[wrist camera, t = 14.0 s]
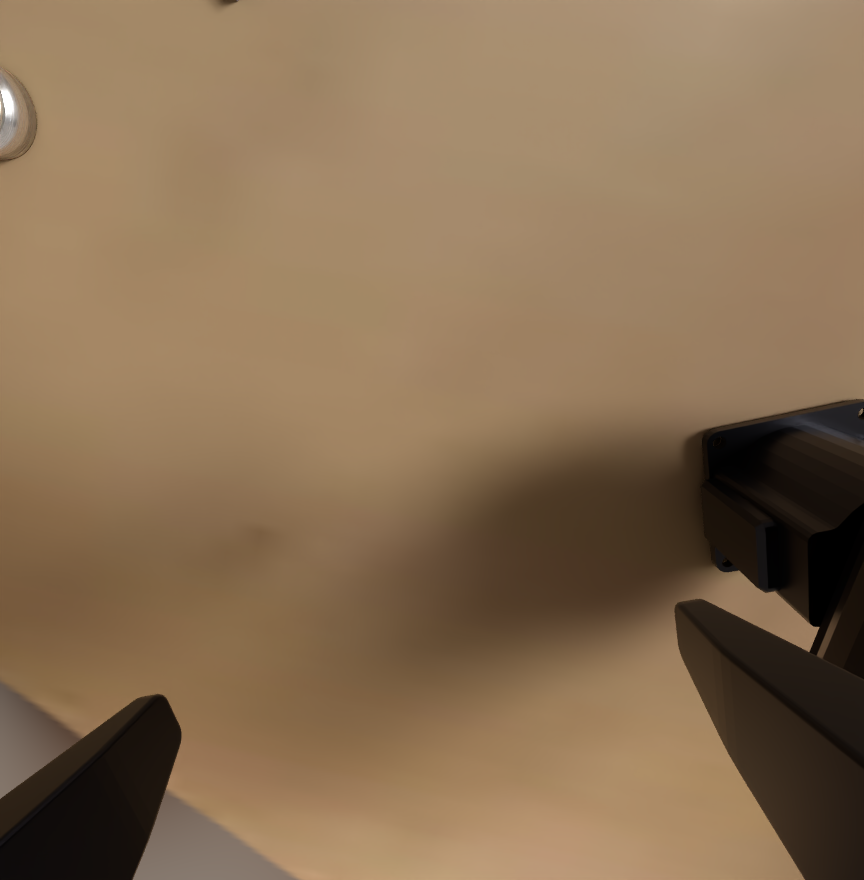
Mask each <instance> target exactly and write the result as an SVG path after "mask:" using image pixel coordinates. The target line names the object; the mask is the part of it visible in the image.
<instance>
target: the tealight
mask: <svg viewBox="0 0 864 880" xmlns="http://www.w3.org/2000/svg"><path fill="white" fill-rule="evenodd" d="M36 129H37V118H36V111H35V107H34V104H33V101H32V99H31V97H30V95H29V93H28V92H27V90H26V88H25V87H24V86H23V84H22V83H21V82H20V81H19V80H18V79H17V78H16V77H15V76H14V75H13V74H11V73H10V72H9V71H7V70H5V69H4V68H2V67H0V159H1V160H9V159H14V158H17V157H19V156H21V155H22V154H24V153H25V152H26V151H27V150H28V149H29V148H30V146H31V144H32V143H33V140H34V138H35V134H36Z"/></svg>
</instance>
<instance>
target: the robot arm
mask: <svg viewBox="0 0 864 880" xmlns="http://www.w3.org/2000/svg"><path fill="white" fill-rule="evenodd" d="M862 408H863V413H862V414H861V415H860V416H859V417H858V412H859V411H860V410H861V409H862ZM718 437H721V442H720V443H719V444H718V445H716V446H713V442H714V440H715V439H716V438H718ZM702 448H703V460H704V473H705V480H704V481H703V483H702V485H701V487H700V488H701V499H702V511H703V523H704V535H705V538H706V539H707V540H708V541H709V542H710V546H711V558H712V562H713V564H714V565H715V566H716V567H717V568H718V569H719V570H720V571H723V572H732V571H738V570H739V571H740V572H741V573H743V574H744V575H745V576H746V577H747V578H748V579H749V580H750V581H751V582H752V583H753V584H754V585H755V586H756V587H757V588H759V589H760V590H762V591H763V592H765V593H768V592H774V591H775V592H776V593H777V594H778V595H779V596H780V597H782V598H783V599H784V600H785V601H786V602H787V603H788V604H789V605H790V606H791V607H792V608H793V609H794V610H796V611H797V612H798V613H799V614H800V615H801V616H802V617H803V618H804V619H805V620H806V621H807V622H809V623H810V624H811V625H812V626H814V627H820V628H819V630H818V632H817V635H816V637H815V640H814V642H813V645H812V647H811V650H810V652H808V651H806V650H804V649H802V648H800V647H798V646H796V645H794V644H792V643H790V642H788V641H786V640H784V639H782V638H780V637H778V636H776V635H774V634H772V633H770V632H768V631H766V630H763V629H761V628H759V627H757V626H755V625H753V624H751V623H749V622H747V621H745V620H743V619H741V618H739V617H737V616H735V615H733V614H731V613H729V612H727V611H725V610H723V609H721V608H719V607H717V606H715V605H713V604H711V603H709V602H707V601H705V600H702V599H695V600H689V601H683V602H679V603H677V604H676V605H675V621H676V630H677V639H678V646H679V650H680V654H681V656H682V659H683V661H684V663H685V665H686V667H687V670H688V672H689V674H690V676H691V678H692V680H693V682H694V684H695V686H696V688H697V690H698V692H699V694H700V697H701V699H702V701H703V703H704V705H705V707H706V709H707V711H708V713H709V715H710V717H711V719H712V721H713V723H714V726H715V728H716V730H717V732H718V734H719V736H720V738H721V740H722V742H723V744H724V746H725V748H726V750H727V752H728V754H729V755H730V757H731V759H732V761H733V762H734V764H735V766H736V768H737V769H738V771H739V773H740V774H741V776H742V778H743V779H744V781H745V782H746V784H747V786H748V787H749V789H750V791H751V792H752V794H753V796H754V797H755V799H756V800H757V802H758V804H759V805H760V807H761V809H762V810H763V812H764V813H765V815H766V817H767V818H768V820H769V822H770V823H771V825H772V827H773V828H774V830H775V831H776V833H777V835H778V836H779V838H780V840H781V841H782V843H783V845H784V846H785V848H786V849H787V851H788V853H789V854H790V856H791V858H792V859H793V861H794V863H795V864H796V866H797V867H798V869H799V871H800V872H801V874H802V876H803V877H804V879H805V880H864V400H863V399H856V400H851V401H846V402H841V403H836V404H831V405H826V406H822V407H817V408H812V409H807V410H802V411H797V412H792V413H787V414H782V415H778V416H773V417H768V418H763V419H758V420H753V421H748V422H743V423H739V424H734V425H729V426H724V427H719V428H714V429H711V430H709V431H708V432H707V433H705V435H704V437H703V439H702ZM724 558H727V559H728V560H727V561H726V562H722V561H723V559H724ZM180 743H181V728H180V725H179V723H178V721H177V719H176V717H175V715H174V713H173V711H172V709H171V706H170V704H169V702H168V700H167V699H166V697H165V696H163V695H161V694H155V695H149V696H144V697H140V698H137V699H136V700H134V701H133V702H131V703H130V704H129V705H127V706H126V707H125V708H123V709H122V710H121V711H119V712H118V713H116V714H115V715H114V716H112V717H111V718H110V719H108V720H107V721H106V722H104V723H103V724H102V725H100V726H99V727H97V728H96V729H95V730H93V731H92V732H91V733H89V734H88V735H87V736H85V737H84V738H82V739H81V740H80V741H78V742H77V743H76V744H74V745H73V746H72V747H70V748H69V749H68V750H66V751H65V752H63V753H62V754H61V755H59V756H58V757H57V758H55V759H54V760H53V761H51V762H50V763H49V764H47V765H46V766H44V767H43V768H42V769H40V770H39V771H38V772H36V773H35V774H33V775H32V776H31V777H29V778H28V779H27V780H25V781H24V782H23V783H21V784H20V785H18V786H17V787H16V788H14V789H13V790H12V791H10V792H9V793H8V794H6V795H5V796H4V797H2V798H1V799H0V880H133V877H134V875H135V873H136V870H137V868H138V865H139V863H140V861H141V858H142V856H143V853H144V851H145V848H146V845H147V843H148V840H149V838H150V835H151V832H152V829H153V826H154V824H155V820H156V817H157V814H158V811H159V808H160V805H161V802H162V799H163V796H164V793H165V790H166V787H167V784H168V781H169V778H170V775H171V771H172V768H173V765H174V762H175V759H176V756H177V753H178V750H179V747H180Z"/></svg>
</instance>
